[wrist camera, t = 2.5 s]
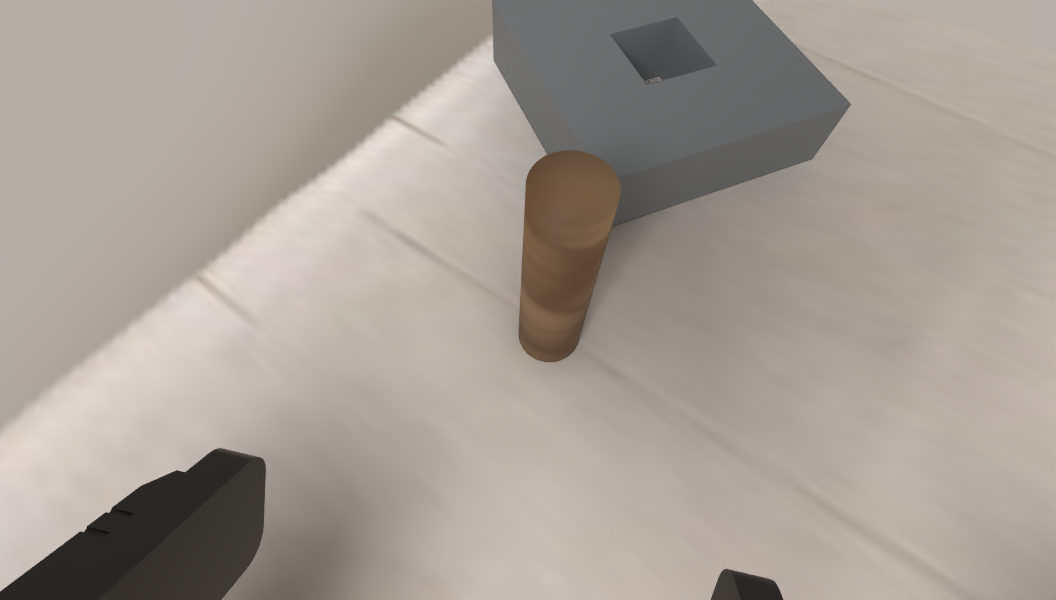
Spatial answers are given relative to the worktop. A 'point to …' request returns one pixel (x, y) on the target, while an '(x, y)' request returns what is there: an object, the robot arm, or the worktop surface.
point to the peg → (563, 248)
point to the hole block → (664, 91)
